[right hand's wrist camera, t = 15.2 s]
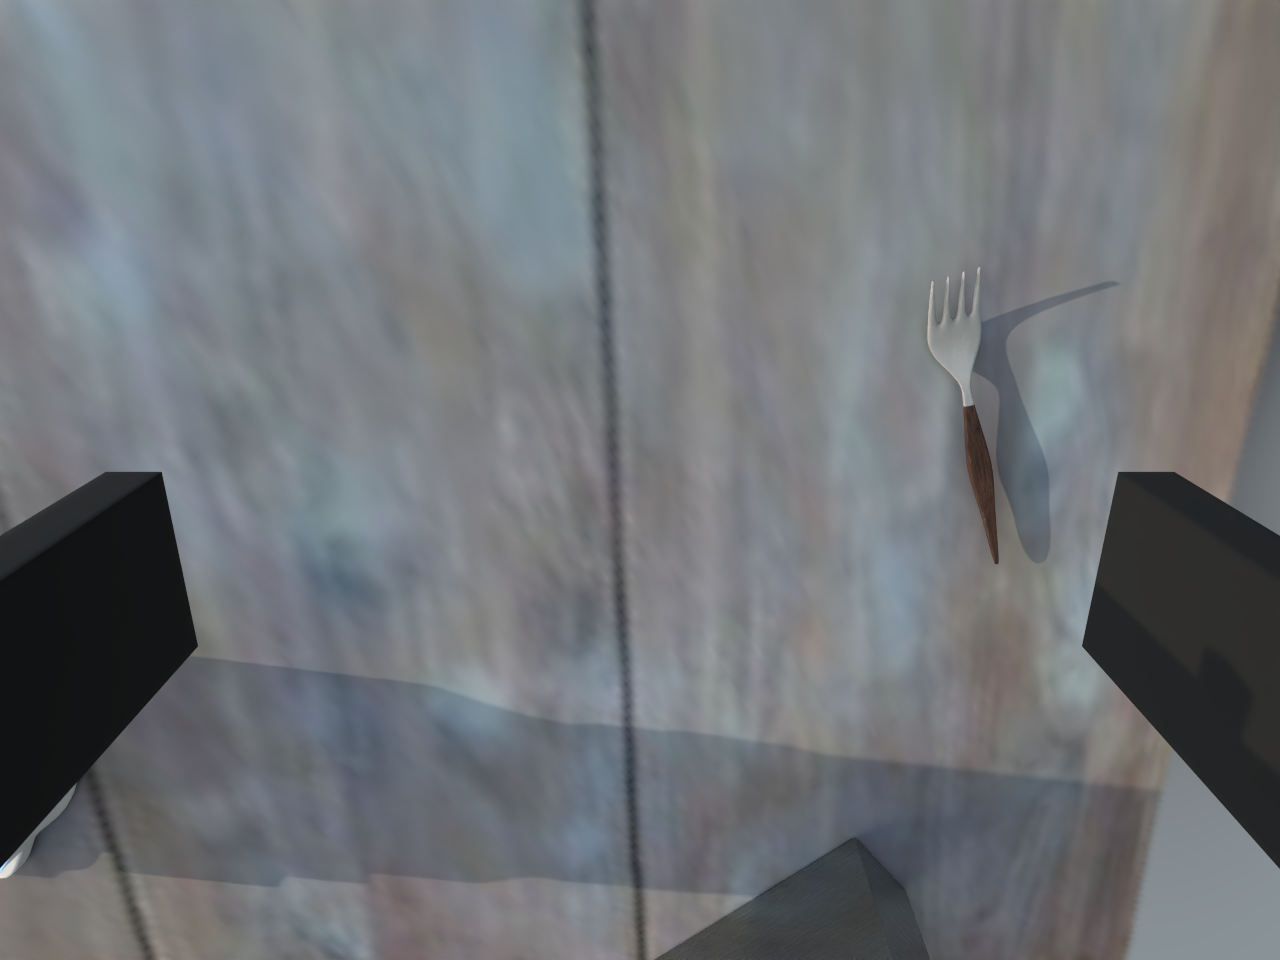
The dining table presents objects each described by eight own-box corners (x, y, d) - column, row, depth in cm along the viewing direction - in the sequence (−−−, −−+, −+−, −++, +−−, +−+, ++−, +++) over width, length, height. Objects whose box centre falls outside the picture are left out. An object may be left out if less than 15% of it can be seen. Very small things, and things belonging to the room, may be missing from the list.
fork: (968, 565, 47) (981, 583, 45) (914, 276, 41) (927, 282, 39) (1017, 553, 46) (1032, 570, 45) (969, 260, 41) (985, 265, 39)
